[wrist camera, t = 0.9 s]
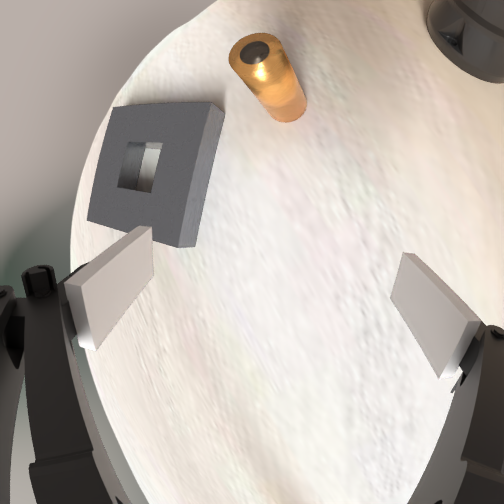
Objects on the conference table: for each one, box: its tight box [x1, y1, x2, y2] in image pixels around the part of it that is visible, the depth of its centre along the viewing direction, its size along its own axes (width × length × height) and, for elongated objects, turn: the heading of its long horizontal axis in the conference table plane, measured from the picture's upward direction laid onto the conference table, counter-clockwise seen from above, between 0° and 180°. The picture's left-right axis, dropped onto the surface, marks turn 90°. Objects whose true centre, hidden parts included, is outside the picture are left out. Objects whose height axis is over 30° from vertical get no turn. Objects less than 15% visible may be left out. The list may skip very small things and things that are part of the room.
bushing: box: [229, 33, 307, 122], centre depth 27 cm, size 5×5×12 cm
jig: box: [87, 102, 225, 248], centre depth 38 cm, size 18×18×4 cm
